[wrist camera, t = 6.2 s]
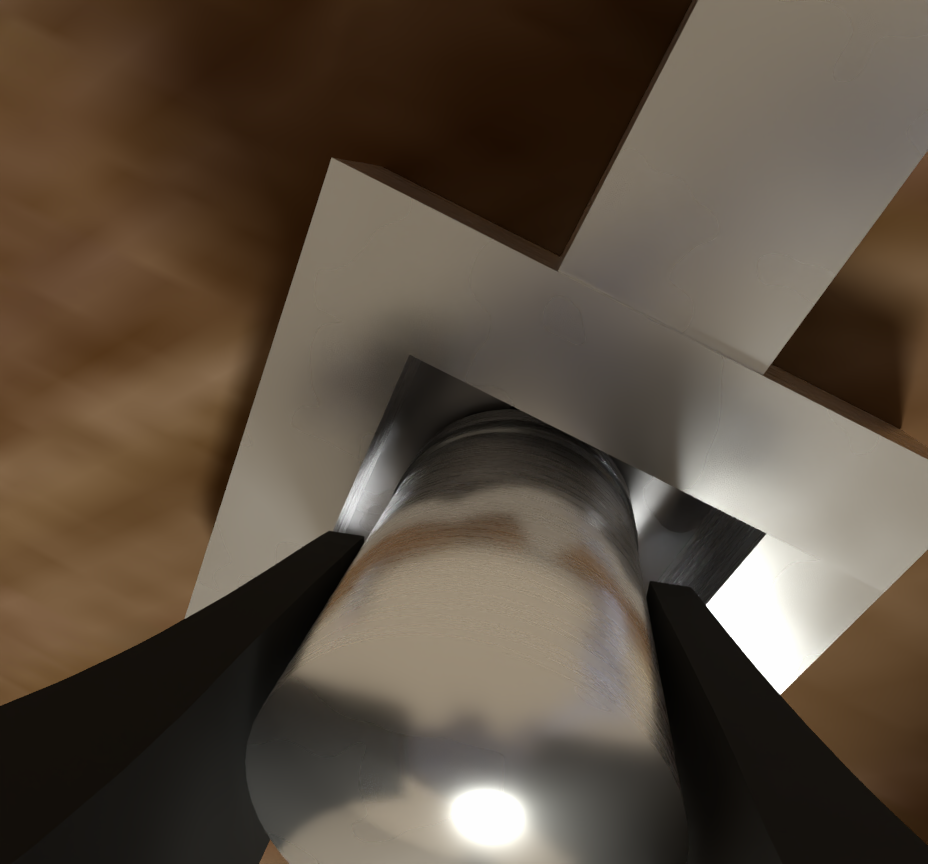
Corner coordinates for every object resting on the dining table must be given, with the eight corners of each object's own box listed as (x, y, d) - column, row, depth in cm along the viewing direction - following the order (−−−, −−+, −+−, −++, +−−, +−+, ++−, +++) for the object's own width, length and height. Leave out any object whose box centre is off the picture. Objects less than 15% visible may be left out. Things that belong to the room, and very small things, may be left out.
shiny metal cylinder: (649, 421, 10) (742, 683, 4) (616, 628, 12) (654, 1005, 6) (399, 399, 11) (213, 604, 5) (402, 598, 12) (263, 912, 7)
